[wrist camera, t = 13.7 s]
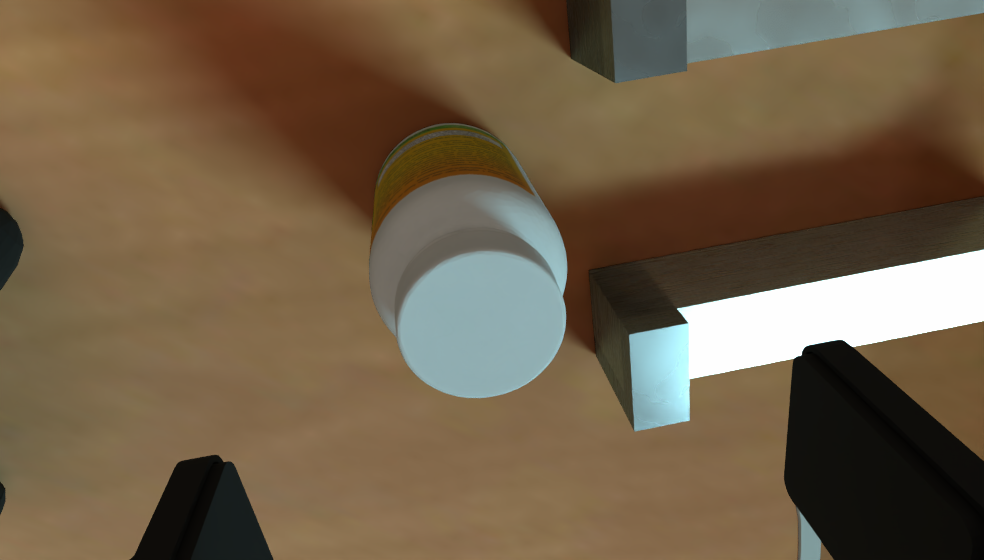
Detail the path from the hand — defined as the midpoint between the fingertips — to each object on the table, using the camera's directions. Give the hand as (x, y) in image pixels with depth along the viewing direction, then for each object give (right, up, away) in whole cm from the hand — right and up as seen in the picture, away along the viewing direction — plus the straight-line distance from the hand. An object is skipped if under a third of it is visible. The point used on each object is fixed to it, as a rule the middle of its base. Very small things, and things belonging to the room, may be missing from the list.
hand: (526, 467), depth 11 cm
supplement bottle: (-2, +6, +13) cm, 15 cm away
